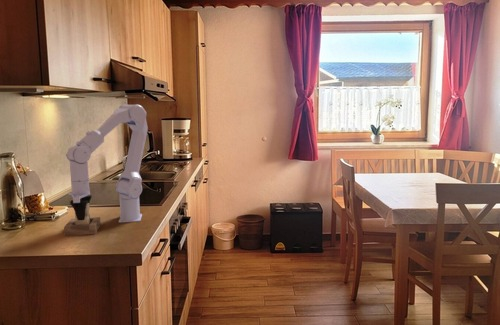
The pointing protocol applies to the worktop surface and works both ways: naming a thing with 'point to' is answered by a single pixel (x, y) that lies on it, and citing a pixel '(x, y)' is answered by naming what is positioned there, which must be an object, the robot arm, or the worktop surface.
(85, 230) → the walnut holder
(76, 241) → the worktop surface
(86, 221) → the birch post
